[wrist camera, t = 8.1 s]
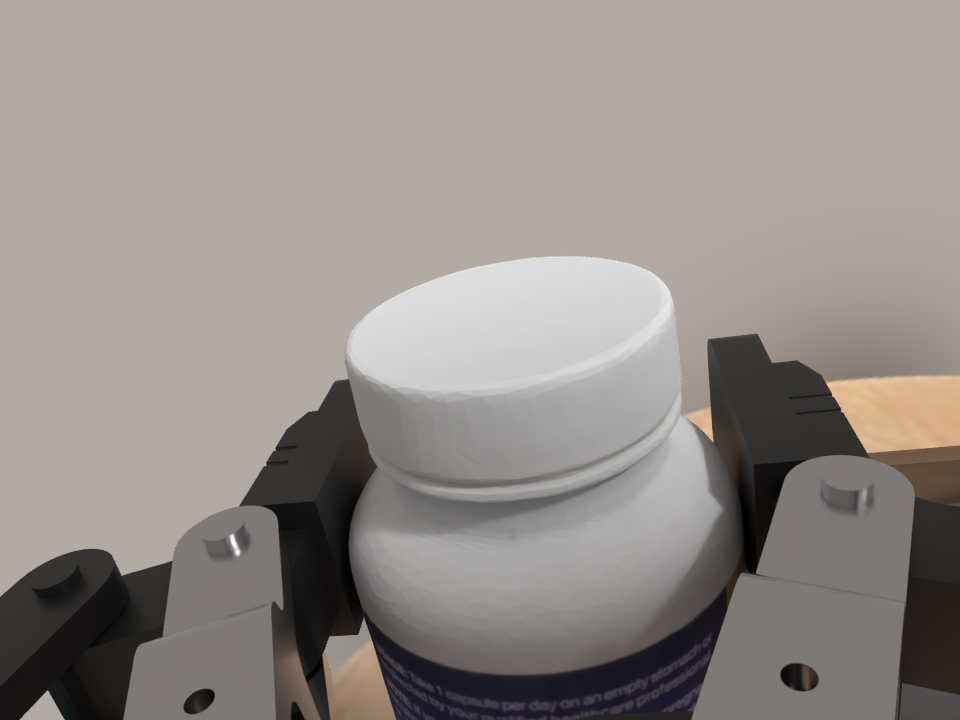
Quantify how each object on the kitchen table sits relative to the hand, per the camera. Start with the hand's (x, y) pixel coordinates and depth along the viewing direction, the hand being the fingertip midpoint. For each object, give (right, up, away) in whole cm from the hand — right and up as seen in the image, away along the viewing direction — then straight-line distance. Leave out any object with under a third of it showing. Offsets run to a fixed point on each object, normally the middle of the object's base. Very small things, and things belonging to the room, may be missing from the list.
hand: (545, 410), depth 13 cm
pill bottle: (+1, -7, 0) cm, 7 cm away
